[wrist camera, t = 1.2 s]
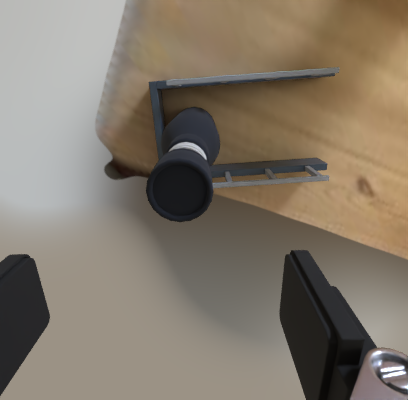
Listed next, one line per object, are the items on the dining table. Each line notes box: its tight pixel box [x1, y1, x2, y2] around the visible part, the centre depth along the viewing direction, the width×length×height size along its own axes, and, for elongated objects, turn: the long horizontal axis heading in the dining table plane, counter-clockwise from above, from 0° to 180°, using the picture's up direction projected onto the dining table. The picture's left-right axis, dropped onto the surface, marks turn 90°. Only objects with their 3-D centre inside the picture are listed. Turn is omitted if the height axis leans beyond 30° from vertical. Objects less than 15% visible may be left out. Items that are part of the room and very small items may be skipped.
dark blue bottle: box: [146, 107, 220, 222], centre depth 30 cm, size 6×6×30 cm
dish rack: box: [149, 67, 339, 188], centre depth 39 cm, size 25×14×10 cm, turn 94°
